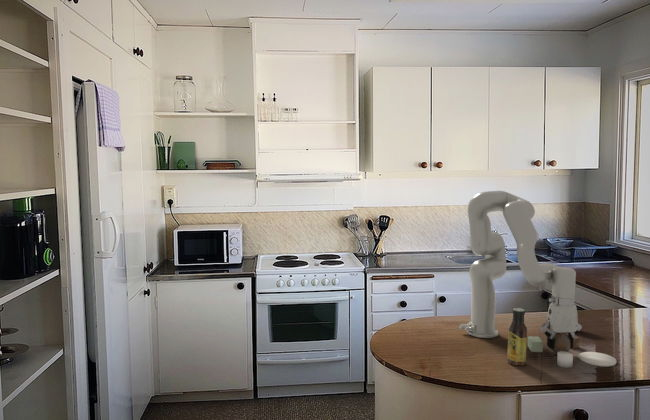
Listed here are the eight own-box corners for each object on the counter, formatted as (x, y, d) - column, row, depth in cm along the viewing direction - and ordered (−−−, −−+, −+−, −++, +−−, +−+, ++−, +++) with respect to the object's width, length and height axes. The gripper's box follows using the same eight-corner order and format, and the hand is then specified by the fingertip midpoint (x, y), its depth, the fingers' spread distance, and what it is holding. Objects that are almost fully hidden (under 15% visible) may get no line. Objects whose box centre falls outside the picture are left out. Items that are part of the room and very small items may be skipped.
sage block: (531, 351, 193) (531, 341, 192) (527, 346, 198) (527, 336, 198) (542, 352, 192) (542, 342, 192) (538, 346, 198) (538, 336, 198)
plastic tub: (562, 368, 177) (562, 357, 177) (554, 362, 182) (554, 351, 181) (575, 367, 178) (576, 356, 177) (567, 361, 182) (567, 350, 182)
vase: (568, 351, 191) (570, 328, 190) (571, 357, 184) (572, 334, 183) (548, 348, 193) (550, 326, 192) (550, 355, 187) (551, 332, 186)
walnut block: (572, 349, 195) (572, 339, 194) (563, 346, 198) (563, 336, 198) (578, 347, 196) (579, 337, 196) (569, 344, 200) (570, 334, 200)
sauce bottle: (504, 360, 184) (505, 306, 183) (520, 359, 185) (522, 306, 183) (512, 367, 178) (513, 311, 176) (529, 366, 178) (531, 311, 177)
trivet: (592, 367, 177) (593, 365, 177) (571, 354, 189) (571, 352, 189) (624, 365, 178) (624, 363, 178) (601, 352, 190) (601, 350, 190)
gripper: (546, 304, 182) (543, 352, 184) (591, 303, 184) (587, 350, 186) (535, 298, 189) (532, 344, 191) (578, 297, 191) (575, 342, 193)
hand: (559, 347), depth 188 cm, fingers closed on vase, 6 cm apart
